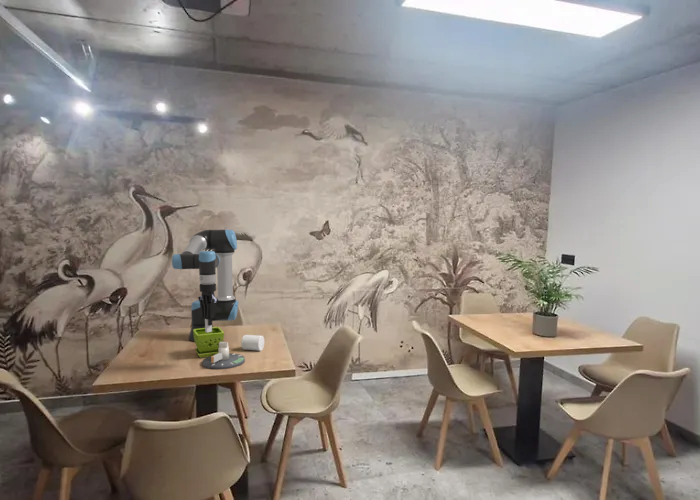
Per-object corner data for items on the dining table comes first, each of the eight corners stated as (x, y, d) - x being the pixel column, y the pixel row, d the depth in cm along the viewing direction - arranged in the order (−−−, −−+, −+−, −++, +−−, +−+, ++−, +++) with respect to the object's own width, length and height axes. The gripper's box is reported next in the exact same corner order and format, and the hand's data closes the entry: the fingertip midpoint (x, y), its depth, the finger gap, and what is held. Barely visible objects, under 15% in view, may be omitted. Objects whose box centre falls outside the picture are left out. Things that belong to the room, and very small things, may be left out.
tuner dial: (196, 361, 218) (195, 358, 218) (233, 353, 231) (233, 350, 231) (213, 372, 203) (213, 368, 203) (252, 363, 216) (252, 359, 216)
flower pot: (196, 359, 222) (196, 335, 221) (192, 352, 234) (192, 329, 233) (225, 356, 228) (224, 331, 227) (219, 349, 240) (219, 326, 239)
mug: (258, 352, 234) (258, 337, 233) (241, 351, 236) (241, 336, 235) (267, 346, 246) (267, 332, 245) (250, 345, 248) (250, 331, 247)
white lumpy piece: (222, 357, 220) (222, 340, 220) (231, 358, 219) (230, 341, 218) (207, 364, 209) (207, 347, 209) (216, 365, 208) (216, 348, 207)
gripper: (193, 282, 212) (194, 331, 214) (208, 285, 204) (209, 335, 206) (206, 281, 218) (207, 328, 220) (222, 283, 210) (223, 332, 211)
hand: (208, 331), depth 213 cm, fingers closed
